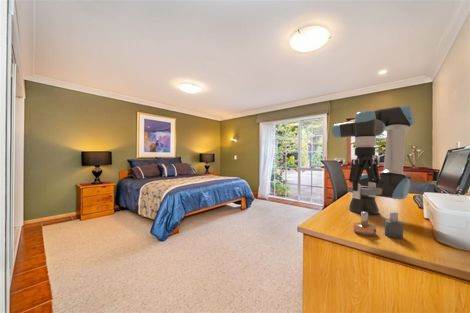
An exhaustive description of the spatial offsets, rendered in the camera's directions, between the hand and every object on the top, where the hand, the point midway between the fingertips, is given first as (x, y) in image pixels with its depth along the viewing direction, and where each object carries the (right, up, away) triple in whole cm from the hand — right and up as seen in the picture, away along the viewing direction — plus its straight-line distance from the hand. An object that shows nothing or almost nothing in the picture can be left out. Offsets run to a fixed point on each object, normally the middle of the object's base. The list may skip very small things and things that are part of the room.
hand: (364, 197), depth 85 cm
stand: (+10, -16, -3) cm, 19 cm away
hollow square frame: (0, +2, 0) cm, 2 cm away
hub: (0, -16, 0) cm, 16 cm away
